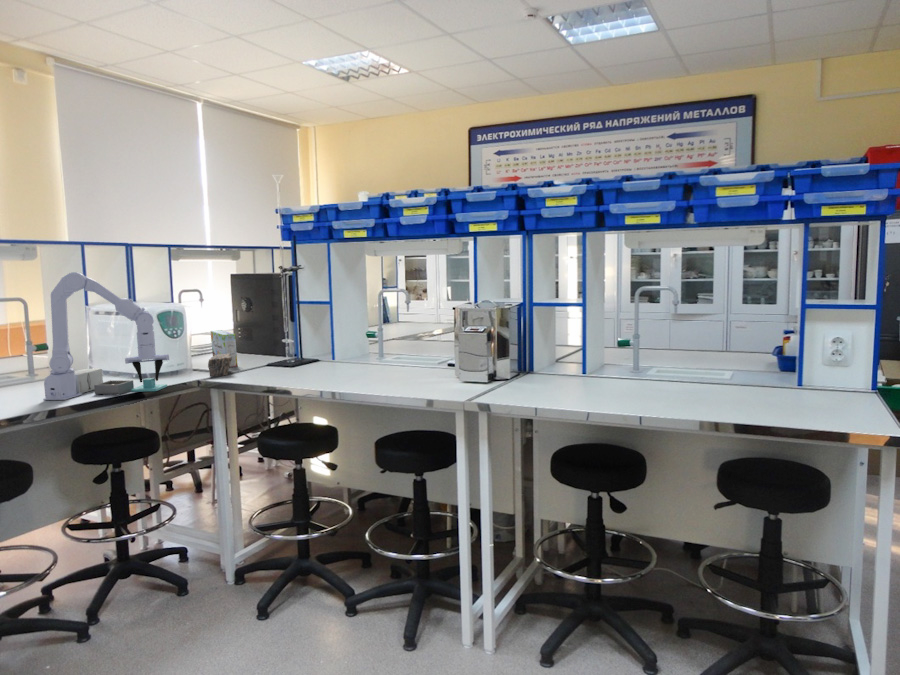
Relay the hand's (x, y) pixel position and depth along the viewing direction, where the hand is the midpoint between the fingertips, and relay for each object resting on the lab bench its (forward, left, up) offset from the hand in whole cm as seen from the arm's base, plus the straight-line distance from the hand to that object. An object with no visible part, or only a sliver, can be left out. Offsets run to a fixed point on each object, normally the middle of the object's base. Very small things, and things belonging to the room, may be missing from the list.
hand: (149, 381), depth 233 cm
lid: (0, 0, -3) cm, 3 cm away
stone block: (+33, -13, -3) cm, 36 cm away
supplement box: (+4, +23, +1) cm, 24 cm away
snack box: (+58, -2, -3) cm, 58 cm away
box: (-5, +10, -3) cm, 12 cm away
